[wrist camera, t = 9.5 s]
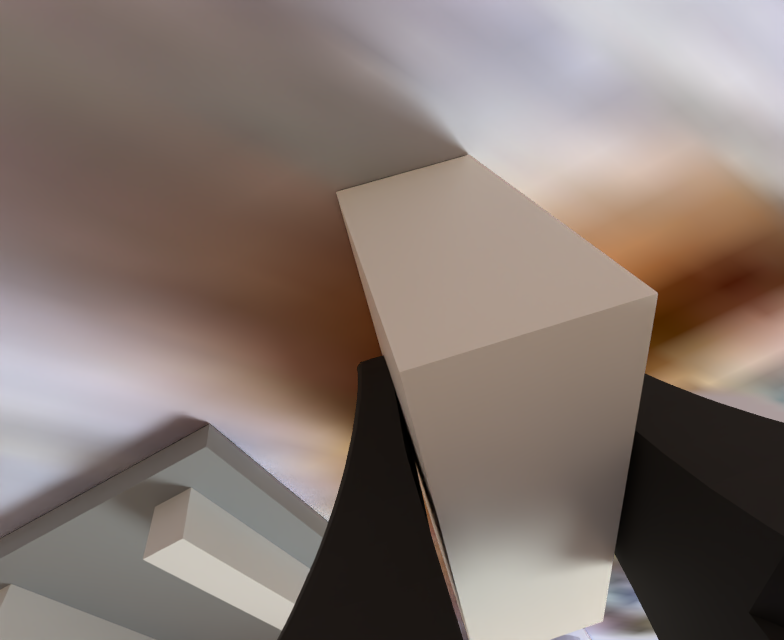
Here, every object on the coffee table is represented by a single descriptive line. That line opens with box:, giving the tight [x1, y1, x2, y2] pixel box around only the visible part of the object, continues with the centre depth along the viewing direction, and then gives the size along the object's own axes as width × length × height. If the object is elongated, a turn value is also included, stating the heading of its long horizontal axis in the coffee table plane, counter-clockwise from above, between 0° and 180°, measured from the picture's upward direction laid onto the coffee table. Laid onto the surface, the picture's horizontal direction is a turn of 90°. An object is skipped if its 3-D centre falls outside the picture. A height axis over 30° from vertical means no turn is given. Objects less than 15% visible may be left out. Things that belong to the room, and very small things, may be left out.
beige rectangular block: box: [336, 155, 658, 640], centre depth 10 cm, size 9×3×6 cm, turn 12°
